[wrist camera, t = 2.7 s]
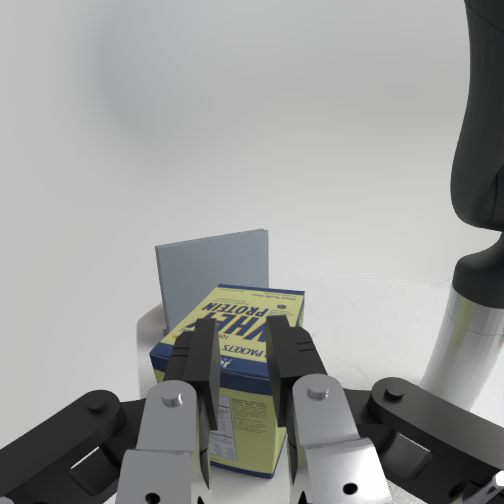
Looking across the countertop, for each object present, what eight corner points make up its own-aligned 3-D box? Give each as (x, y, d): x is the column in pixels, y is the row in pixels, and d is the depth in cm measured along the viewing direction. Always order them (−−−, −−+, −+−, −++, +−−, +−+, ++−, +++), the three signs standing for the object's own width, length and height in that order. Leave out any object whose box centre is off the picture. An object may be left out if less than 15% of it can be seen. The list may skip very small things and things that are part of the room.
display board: (252, 308, 59) (249, 225, 54) (268, 318, 54) (268, 230, 50) (164, 334, 49) (149, 241, 44) (174, 349, 44) (158, 248, 39)
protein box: (298, 388, 35) (306, 288, 30) (273, 481, 20) (280, 382, 16) (227, 377, 38) (219, 281, 33) (181, 457, 23) (144, 353, 19)
